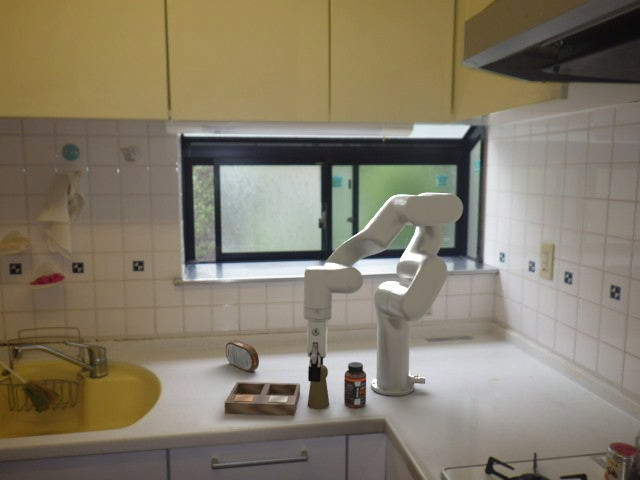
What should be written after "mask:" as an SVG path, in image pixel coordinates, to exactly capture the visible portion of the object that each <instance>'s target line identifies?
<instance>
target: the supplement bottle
mask: <svg viewBox="0 0 640 480" xmlns="http://www.w3.org/2000/svg"><path fill="white" fill-rule="evenodd" d="M343 382H344V386H343V387H344V389H343V390H344V394H343V395H344V396H343V397H344V398H343V399H344V402H343V403H344V405H346V406H347V407H349V408H352V409H358V408H359V409H360V408H364V406H366V402H367V373H366V372H365V370H364V365H363V363H361V362H358V361H352V362H349V363H348V365H347V370H346V371H345V372H344V381H343Z"/></svg>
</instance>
